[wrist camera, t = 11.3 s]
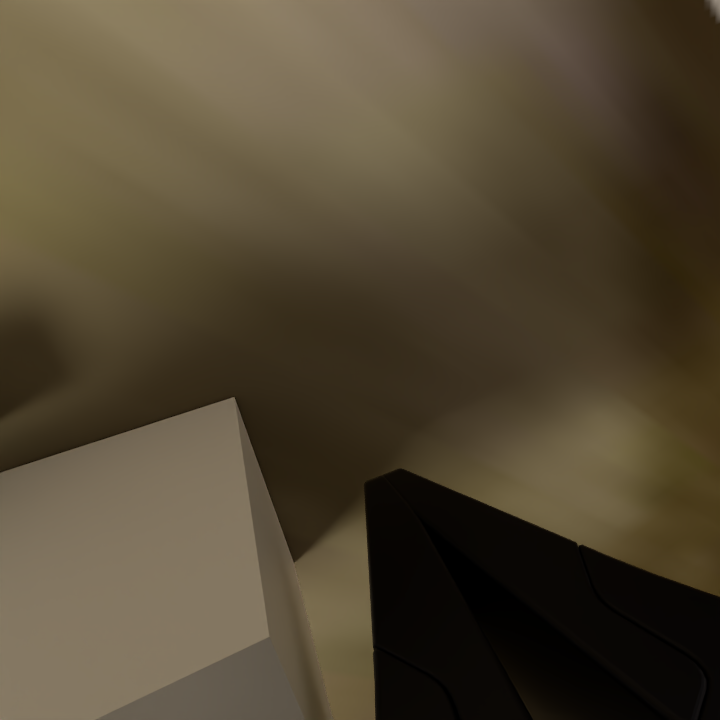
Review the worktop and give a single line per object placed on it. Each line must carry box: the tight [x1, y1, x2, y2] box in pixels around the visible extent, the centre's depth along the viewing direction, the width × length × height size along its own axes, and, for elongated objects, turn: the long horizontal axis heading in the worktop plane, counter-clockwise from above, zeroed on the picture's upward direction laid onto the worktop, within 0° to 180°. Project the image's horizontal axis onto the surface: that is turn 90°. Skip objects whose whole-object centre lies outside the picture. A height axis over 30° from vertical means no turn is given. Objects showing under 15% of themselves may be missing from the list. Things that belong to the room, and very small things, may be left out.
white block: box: [0, 397, 333, 720], centre depth 5 cm, size 4×7×5 cm, turn 102°
